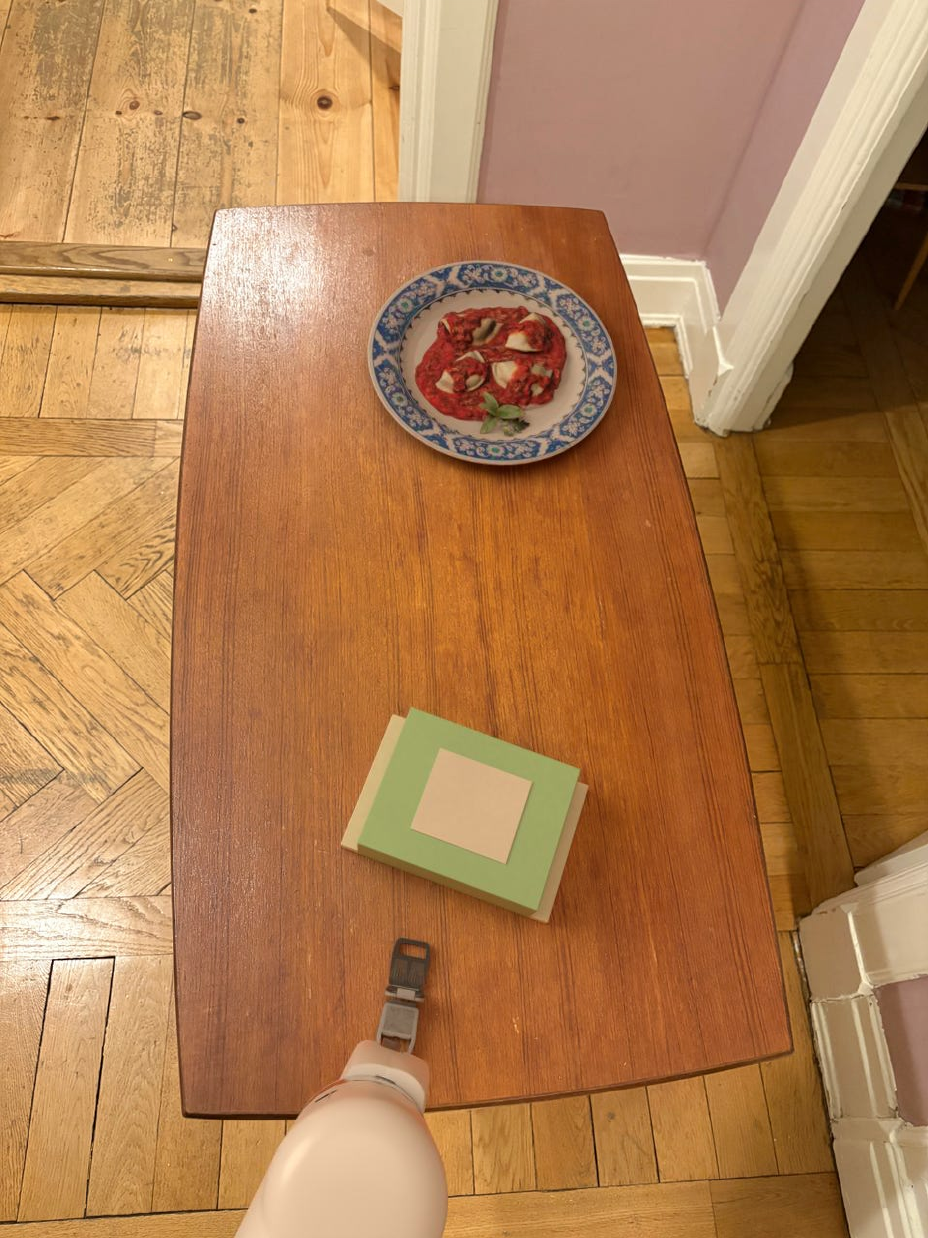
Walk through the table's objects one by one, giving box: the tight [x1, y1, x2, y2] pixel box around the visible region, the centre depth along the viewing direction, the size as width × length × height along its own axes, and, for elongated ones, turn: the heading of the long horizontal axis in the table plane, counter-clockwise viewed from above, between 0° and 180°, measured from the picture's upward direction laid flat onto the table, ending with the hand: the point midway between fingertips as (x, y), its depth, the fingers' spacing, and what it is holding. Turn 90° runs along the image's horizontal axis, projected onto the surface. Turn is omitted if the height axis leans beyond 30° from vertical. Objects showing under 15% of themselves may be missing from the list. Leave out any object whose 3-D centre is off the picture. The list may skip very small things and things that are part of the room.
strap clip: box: [375, 937, 431, 1055], centre depth 72 cm, size 8×3×4 cm, turn 170°
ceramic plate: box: [366, 259, 618, 466], centre depth 98 cm, size 26×26×3 cm
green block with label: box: [340, 706, 590, 925], centre depth 78 cm, size 12×18×5 cm, turn 71°
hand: (362, 1118), depth 65 cm, fingers closed
